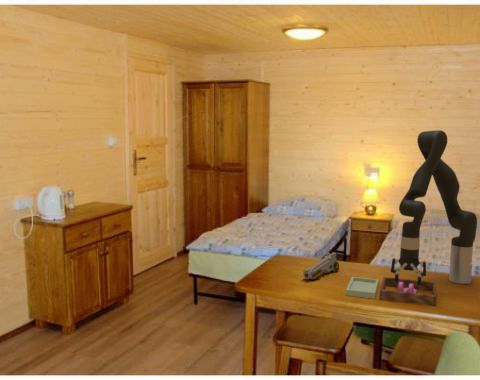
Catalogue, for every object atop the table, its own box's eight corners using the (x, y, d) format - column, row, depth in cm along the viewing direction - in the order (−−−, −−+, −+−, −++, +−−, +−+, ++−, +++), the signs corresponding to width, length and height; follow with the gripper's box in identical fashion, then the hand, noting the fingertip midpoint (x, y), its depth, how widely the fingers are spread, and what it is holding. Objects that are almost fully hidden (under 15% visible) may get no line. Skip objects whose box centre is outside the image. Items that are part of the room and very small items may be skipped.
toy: (340, 270, 254) (338, 251, 251) (312, 290, 238) (310, 271, 235) (331, 268, 258) (329, 249, 255) (303, 288, 242) (301, 268, 239)
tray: (378, 284, 234) (378, 279, 233) (374, 298, 216) (374, 293, 216) (351, 281, 238) (352, 276, 237) (345, 295, 220) (346, 289, 220)
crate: (434, 291, 226) (435, 282, 225) (435, 306, 208) (436, 296, 208) (383, 285, 233) (383, 276, 233) (379, 299, 215) (380, 290, 215)
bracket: (411, 301, 214) (412, 285, 213) (397, 299, 216) (398, 283, 215) (417, 292, 225) (418, 276, 224) (404, 290, 228) (405, 274, 227)
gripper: (427, 246, 219) (425, 283, 221) (393, 243, 224) (390, 279, 226) (427, 250, 212) (425, 288, 214) (391, 247, 217) (389, 284, 219)
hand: (407, 283), depth 220 cm, fingers open, 8 cm apart
